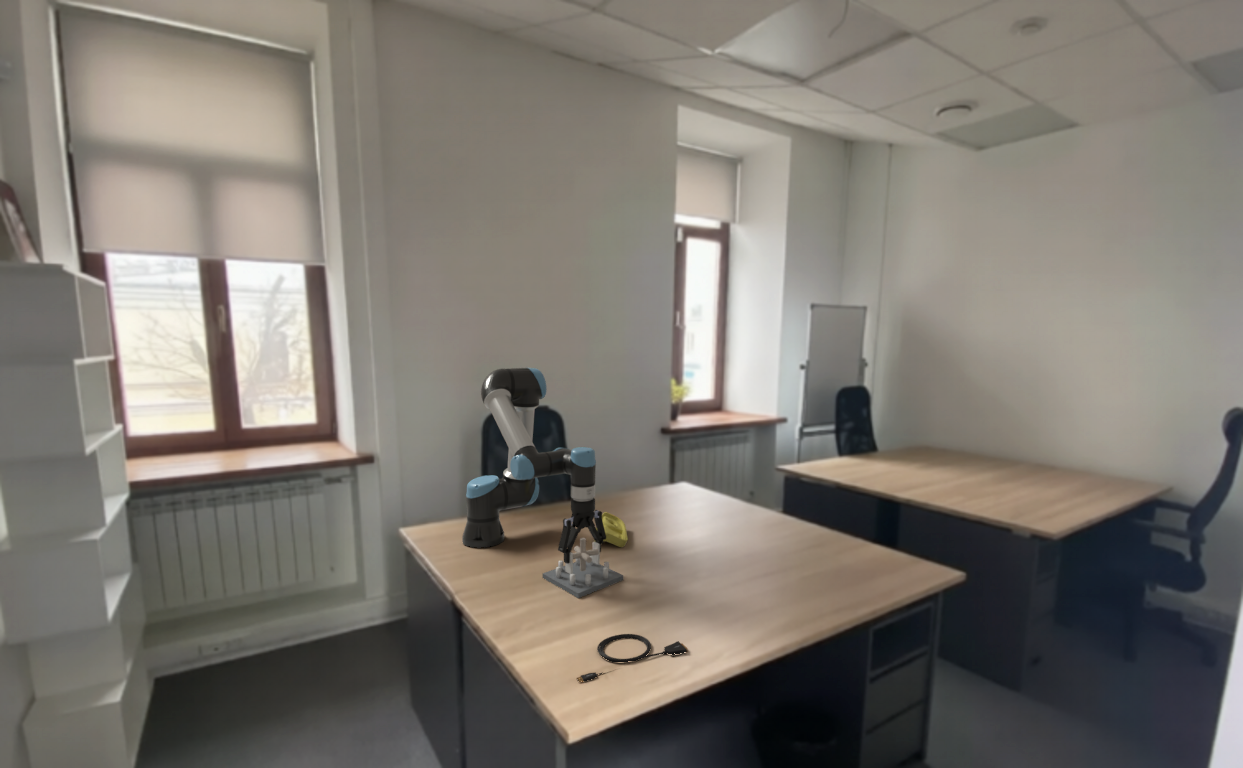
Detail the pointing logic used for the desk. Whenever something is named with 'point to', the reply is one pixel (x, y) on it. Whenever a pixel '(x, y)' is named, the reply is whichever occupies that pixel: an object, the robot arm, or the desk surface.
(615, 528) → the plastic component
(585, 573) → the grey peg board
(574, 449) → the robot arm
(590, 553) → the pipe connector
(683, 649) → the cable
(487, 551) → the desk surface
